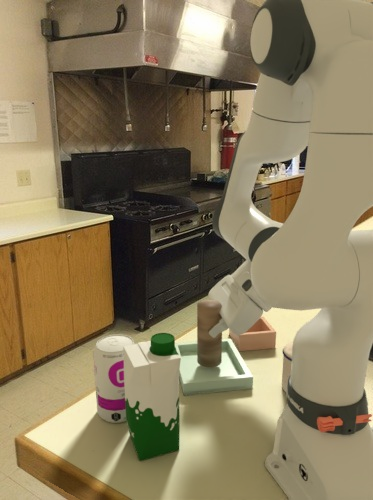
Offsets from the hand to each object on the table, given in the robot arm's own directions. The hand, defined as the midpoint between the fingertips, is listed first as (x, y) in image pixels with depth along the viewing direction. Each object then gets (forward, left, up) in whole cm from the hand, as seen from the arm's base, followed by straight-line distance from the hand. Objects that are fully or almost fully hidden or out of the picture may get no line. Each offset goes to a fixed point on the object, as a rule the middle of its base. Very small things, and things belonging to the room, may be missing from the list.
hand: (207, 328), depth 96 cm
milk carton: (-22, +14, -11) cm, 28 cm away
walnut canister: (0, -1, -8) cm, 8 cm away
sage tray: (0, -1, -11) cm, 11 cm away
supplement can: (-12, +20, -11) cm, 26 cm away
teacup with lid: (-10, -20, -11) cm, 25 cm away
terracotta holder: (+12, -15, -11) cm, 22 cm away
